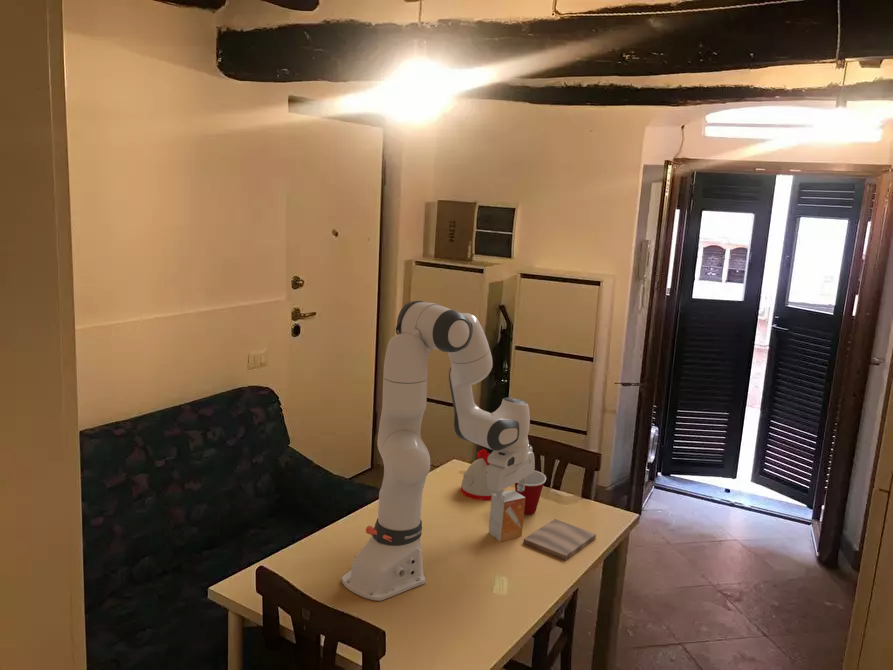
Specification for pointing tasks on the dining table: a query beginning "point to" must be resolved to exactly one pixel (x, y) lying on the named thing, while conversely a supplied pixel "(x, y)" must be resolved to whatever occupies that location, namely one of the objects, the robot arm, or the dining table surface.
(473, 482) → the kitchen timer
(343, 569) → the dining table surface
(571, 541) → the walnut board
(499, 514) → the small box
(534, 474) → the plastic cup
